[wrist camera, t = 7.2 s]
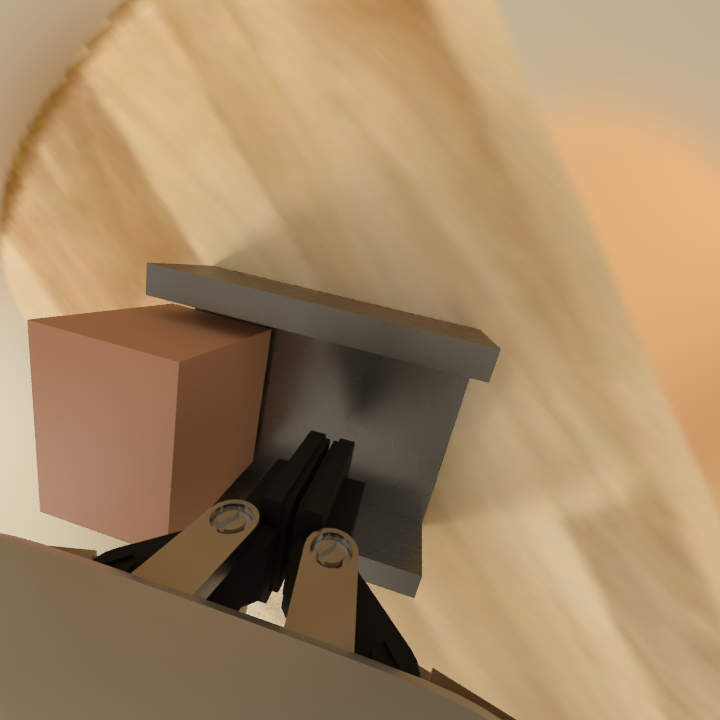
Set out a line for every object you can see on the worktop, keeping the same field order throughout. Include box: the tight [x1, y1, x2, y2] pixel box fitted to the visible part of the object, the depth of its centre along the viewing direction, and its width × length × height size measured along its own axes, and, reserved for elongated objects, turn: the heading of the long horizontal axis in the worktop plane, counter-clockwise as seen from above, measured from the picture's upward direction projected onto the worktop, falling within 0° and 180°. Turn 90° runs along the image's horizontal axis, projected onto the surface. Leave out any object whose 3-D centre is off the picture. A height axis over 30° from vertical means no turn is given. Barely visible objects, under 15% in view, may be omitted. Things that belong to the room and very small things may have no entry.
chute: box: [146, 263, 500, 598], centre depth 15 cm, size 13×11×4 cm
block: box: [28, 304, 272, 544], centre depth 13 cm, size 5×7×6 cm
